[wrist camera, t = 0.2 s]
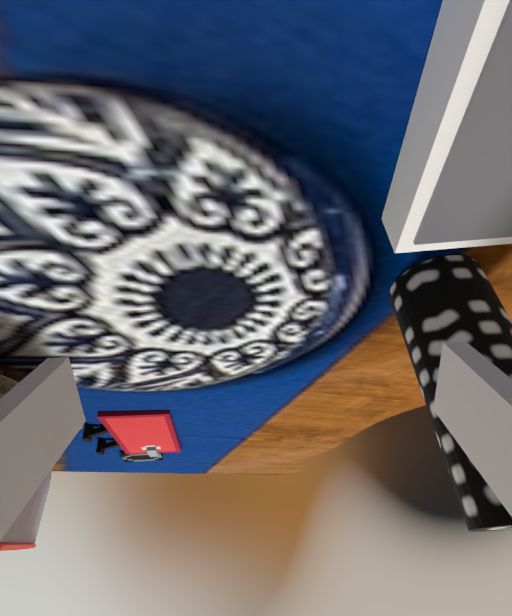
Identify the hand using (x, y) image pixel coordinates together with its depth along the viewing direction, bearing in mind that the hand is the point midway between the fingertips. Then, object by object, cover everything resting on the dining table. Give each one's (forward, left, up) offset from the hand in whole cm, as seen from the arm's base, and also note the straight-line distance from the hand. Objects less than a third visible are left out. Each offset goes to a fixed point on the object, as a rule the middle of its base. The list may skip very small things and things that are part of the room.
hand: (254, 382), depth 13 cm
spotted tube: (+16, +17, -16) cm, 28 cm away
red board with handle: (+58, -26, -17) cm, 66 cm away
